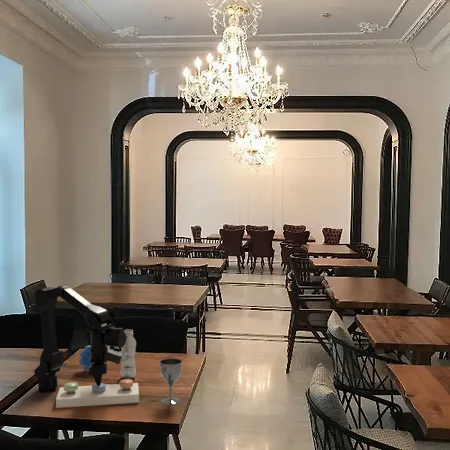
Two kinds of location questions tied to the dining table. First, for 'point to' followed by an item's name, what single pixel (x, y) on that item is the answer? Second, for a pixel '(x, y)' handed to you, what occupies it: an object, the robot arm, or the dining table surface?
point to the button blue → (99, 387)
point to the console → (97, 396)
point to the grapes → (85, 358)
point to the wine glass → (170, 376)
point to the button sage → (70, 387)
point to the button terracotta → (126, 384)
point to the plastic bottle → (128, 356)
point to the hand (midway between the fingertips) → (98, 385)
